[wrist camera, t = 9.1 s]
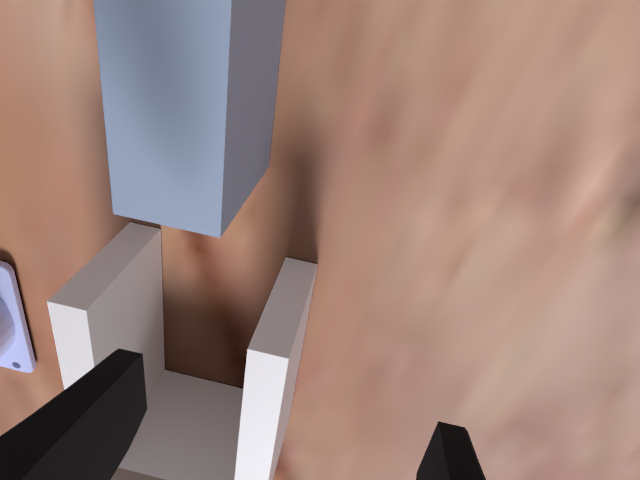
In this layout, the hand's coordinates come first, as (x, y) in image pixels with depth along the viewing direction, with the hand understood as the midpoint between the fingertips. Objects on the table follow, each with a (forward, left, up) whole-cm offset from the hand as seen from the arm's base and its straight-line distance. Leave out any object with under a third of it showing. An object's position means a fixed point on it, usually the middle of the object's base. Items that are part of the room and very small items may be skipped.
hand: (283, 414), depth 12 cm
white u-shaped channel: (-5, -8, -10) cm, 14 cm away
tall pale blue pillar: (-5, +8, -11) cm, 14 cm away
